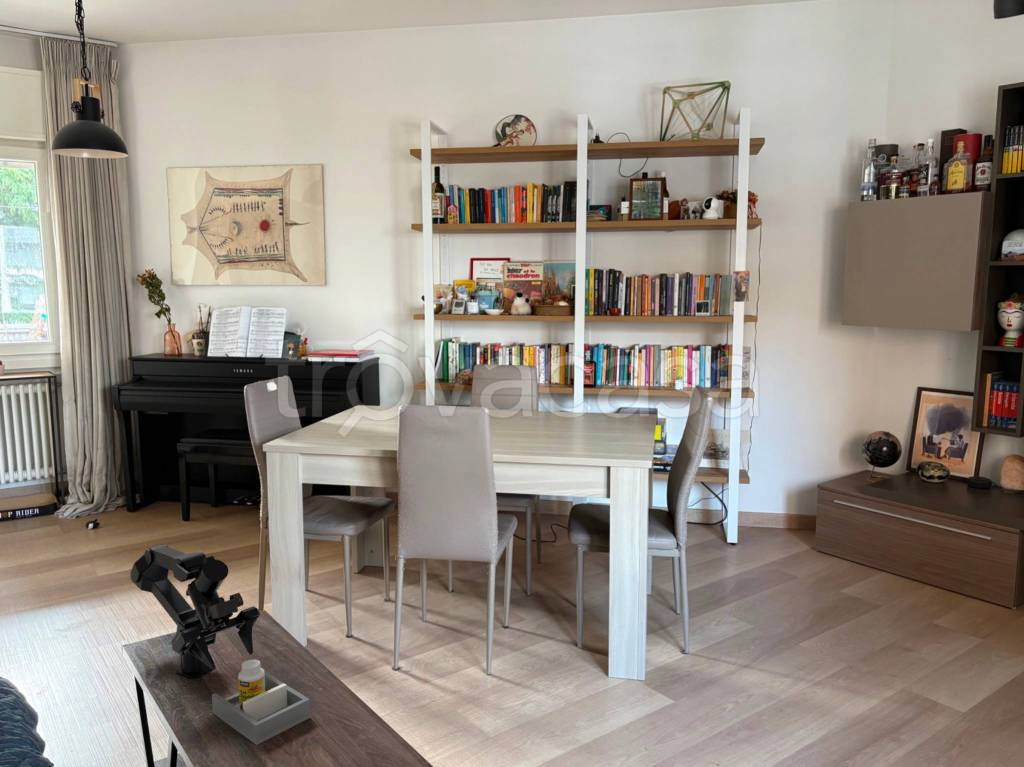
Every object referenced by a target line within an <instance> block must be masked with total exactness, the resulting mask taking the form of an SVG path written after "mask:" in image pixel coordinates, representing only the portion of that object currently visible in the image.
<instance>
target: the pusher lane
mask: <svg viewBox="0 0 1024 767" xmlns="http://www.w3.org/2000/svg"><path fill="white" fill-rule="evenodd" d="M264 672H265V671H264ZM281 684H285V683H284V682H283V681H280V680H279V679H277V678H276V677H274V676H272V675H270V674H269V673H268V672H265V692H266V691H268V690H270V689H273V688H275V687H277V686H279V685H281ZM310 703H311V701H310V698H308V697H307V696H306V695H303V694H301V692H298V691H297V690H295V689H294V688H292V687H291V686H289V685H287V706H286V707H284V708H282V709H280V710H278V711H276V712H274V713H272V714H270V715H268V716H266V717H263V718H261V719H259V720H257V721H256V720H254V719H253V718H251V717H250V716H249V715H247V714H246V713H244V712H243V711H242V710H241V709H240V706H239V692H237V693H236V694H233V695H230V696H228V697H226V698H224V697H223V696H221V695H219V693H217V692H215V693H213V694H211V704H212V706H211V707H212V714H213V713H214V715H215V716H216V717H217V718H219V719H220V720H222V721H223V722H224V723H226V724H227V725H229V726H230V727H231V728H232V729H234V730H235V731H237V732H238V733H239V734H241V735H242V736H244V737H245V738H246V739H248V740H249V741H251V742H252V743H253V744H255V745H256V746H257V745H260V744H262V743H263V742H265V741H268V740H270V739H271V738H273V737H275V736H277V735H279V734H281V733H283V732H285V731H287V730H289V729H290V728H293V727H294V726H296V725H299V724H300V723H303V722H304V721H306V720H309V719H310V718H311V706H310V705H311V704H310Z"/></svg>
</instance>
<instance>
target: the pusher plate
mask: <svg viewBox="0 0 1024 767" xmlns="http://www.w3.org/2000/svg"><path fill="white" fill-rule="evenodd" d="M287 686H288V685H287V684H286V683H284V684H281V685H279V686H277V687H275V688H273V689H270V690H268V691H266V692H264V693H262V694H260V695H257V696H255V697H253V698H251V699H249V700H246V701H244V702H243V712H244V713H246V714H247V715H249V716H250V717H251V718H253V719H254V720H256V721H257V720H259V719H261V718H263V717H266V716H268V715H270V714H272V713H274V712H276V711H278V710H280V709H282V708H284V707H286V706H287Z"/></svg>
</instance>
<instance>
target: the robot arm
mask: <svg viewBox="0 0 1024 767" xmlns="http://www.w3.org/2000/svg"><path fill="white" fill-rule="evenodd" d="M169 571H171V572H172V573H173V574H172V575H173V577H174V578H175V579H176V580H177V581H178V582H180V583H184V582H188V581H190V580H191V582H190V583H188V584H187V588H186V591H185V596H186V597H190V601H191V602H192V603H191V604H192V605H193V607H194V609H193V607H192V606H191V605H190V604H189V602H188V601H187V600H186V599H185V597H183V595H182V594H181V593H180V591H179V590H178V589H177V588H176V586H175V585H174V584H173V582H172V581H171V580H170V579H169V573H170V572H169ZM228 575H229V567H228V565H227V564H226V563H225V562H224V561H222V560H220V559H215V557H214V555H210V556H207V555H206V553H204V552H203V551H199V552H198V551H195V552H188V553H186V552H183V551H180V550H177V549H176V548H175V549H174V548H172V547H169V545H167V544H159V545H156V546H152V547H149V548H147V549H146V550H145V551H144V554H143V555H142V556H141V557H139V558H138V559H137V560H136V561H135V562H134V563H133V566H132V568H131V570H130V580H131V582H132V583H133V584H134V585H135V586H136V587H137V588H138V589H139V590H140V591H144V592H147V593H151V594H152V595H153V596H154V598H155V599H156V600H157V601H158V602H159V604H160V605H161V607H162V608H163V609H164V611H165V612H166V613H167V615H168V616H169V617H170V618H171V620H172V621H173V622H174V624H175V625H176V633H175V635H174V636H173V638H172V640H171V641H170V642H171V648H172V650H173V651H174V652H175V653H176V654H178V655H179V656H180V657H179V658H180V668H179V669H177V670H175V674H176V675H181V676H183V677H186V678H189V679H192V680H194V679H196V678H198V677H200V676H201V675H203V674H206V673H207V672H209V671H210V670H212V671H215V670H216V667H217V666H216V664H215V661H214V658H213V657H212V654H211V653H210V651H209V646H211V645H213V644H215V643H216V636H217V634H218V633H222V632H223V631H227V630H229V629H231V628H236V629H237V630H238V631H237V635H238V637H239V638H240V640H241V642H242V644H243V645H244V647H245V648H244V649H245V650H246V651H247V653H248V654H249V655H250V656H251V655H253V653H254V647H253V626H254V625H255V623H256V622H257V620H258V619H259V618H260V616H261V615H262V613H261V612H260V610H259V608H257V606H250V607H247V608H244V609H241V610H240V611H239V609H238V608H239V607H240V608H241V607H242V606H244V598H243V597H242V595H241V592H237V593H236V592H235V593H233V594H230V595H229V599H228V600H225V598H224V597H223V596H221V597H220V595H219V593H218V590H219V589H220V587H221V586H222V584H223V583H224V581H225V580H226V579H227V577H228ZM236 613H238V614H237V615H236V616H235V617H233V615H234V614H236ZM231 617H233V618H231ZM230 618H231V619H230Z"/></svg>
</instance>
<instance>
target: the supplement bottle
mask: <svg viewBox="0 0 1024 767" xmlns="http://www.w3.org/2000/svg"><path fill="white" fill-rule="evenodd" d="M237 675H238V677H237V680H238V682H237V683H238V693H239V706H240V709H241V710H242V711H243V702H244V701H246V700H249V699H251V698H253V697H255V696H257V695H260V694H262V693H264V692H265V669H263V668H262V667H261V661H260V660H258V659H248V660H245V661H244V662H242V663H241V671H239V673H238V674H237Z"/></svg>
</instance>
